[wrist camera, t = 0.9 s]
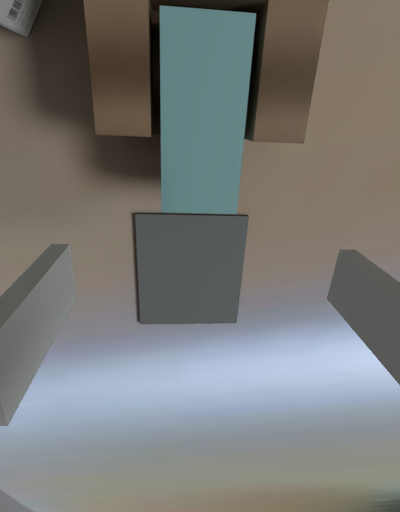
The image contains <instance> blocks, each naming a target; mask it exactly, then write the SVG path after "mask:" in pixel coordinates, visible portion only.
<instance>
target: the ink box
mask: <svg viewBox="0 0 400 512" xmlns="http://www.w3.org/2000/svg"><path fill="white" fill-rule="evenodd" d="M42 1H43V0H0V25H1V26H3V27H5V28H7V29H9V30H11V31H13V32H15V33H17V34H19V35H21V36H23V37H28V36H29V34H30V31H31V29H32V26H33V24H34V21H35V19H36V16H37V13H38V11H39V8H40V6H41V4H42Z"/></svg>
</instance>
